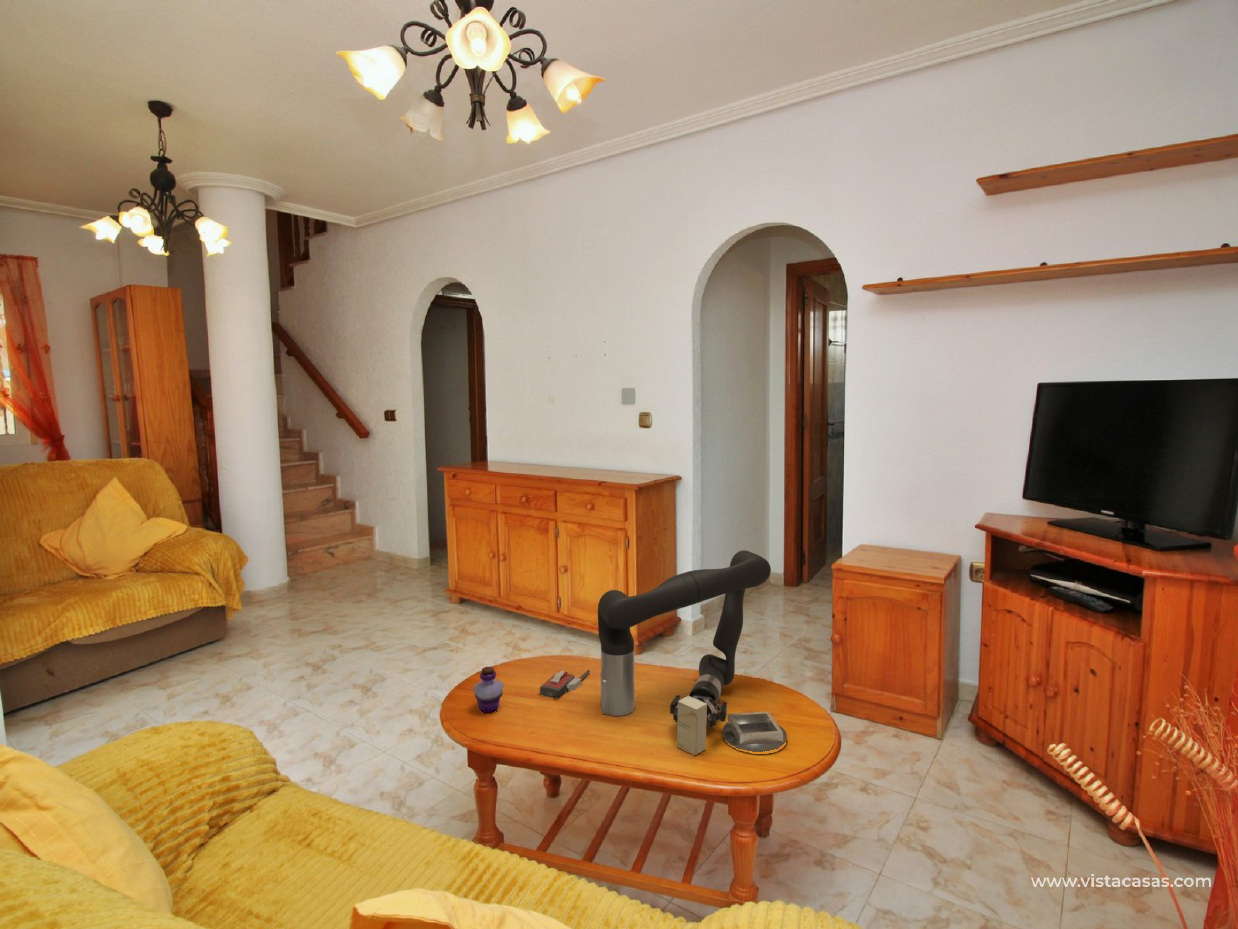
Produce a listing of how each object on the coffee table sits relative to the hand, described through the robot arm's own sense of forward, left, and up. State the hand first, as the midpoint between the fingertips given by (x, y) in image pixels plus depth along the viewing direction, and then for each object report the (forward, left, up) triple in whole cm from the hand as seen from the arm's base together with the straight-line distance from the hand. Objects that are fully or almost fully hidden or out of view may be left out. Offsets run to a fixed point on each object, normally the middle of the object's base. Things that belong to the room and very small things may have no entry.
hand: (693, 721), depth 164 cm
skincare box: (-1, -1, -7) cm, 7 cm away
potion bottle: (-53, +26, -7) cm, 59 cm away
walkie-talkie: (-31, +39, -7) cm, 50 cm away
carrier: (+16, +2, -7) cm, 18 cm away
